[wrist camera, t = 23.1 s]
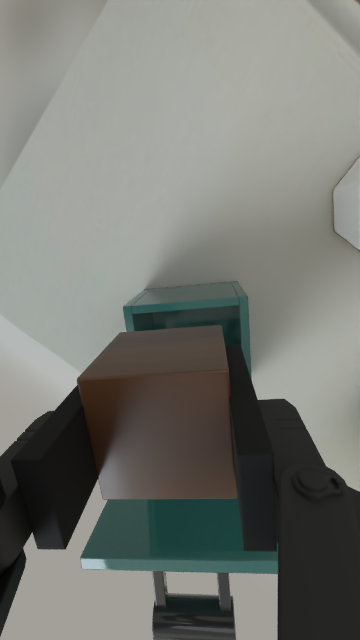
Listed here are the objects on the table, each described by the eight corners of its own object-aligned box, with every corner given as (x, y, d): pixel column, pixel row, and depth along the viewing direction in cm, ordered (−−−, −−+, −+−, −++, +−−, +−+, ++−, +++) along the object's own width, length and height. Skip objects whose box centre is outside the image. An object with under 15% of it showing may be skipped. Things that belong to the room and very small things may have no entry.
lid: (79, 557, 16) (95, 672, 17) (294, 561, 15) (300, 686, 16) (140, 430, 31) (148, 496, 31) (254, 426, 29) (258, 496, 30)
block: (119, 332, 13) (75, 378, 9) (221, 324, 12) (228, 369, 8) (134, 420, 14) (102, 501, 10) (228, 416, 14) (238, 499, 9)
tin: (144, 289, 37) (122, 306, 28) (237, 280, 36) (248, 296, 26) (157, 386, 40) (142, 431, 31) (242, 382, 39) (253, 427, 30)
